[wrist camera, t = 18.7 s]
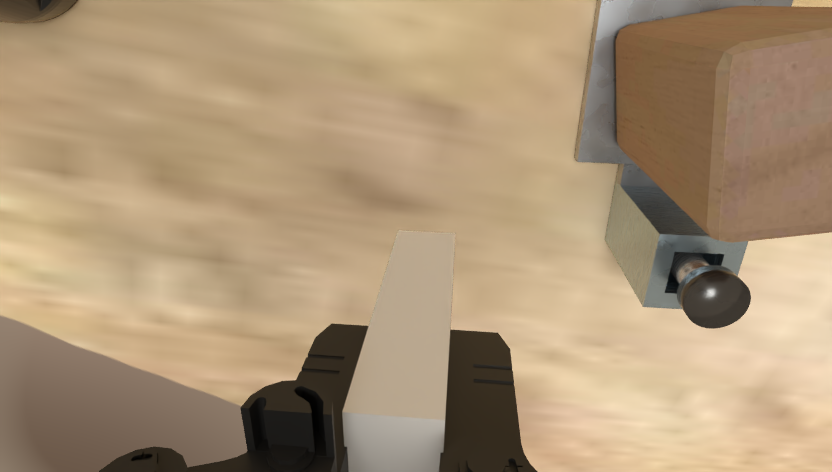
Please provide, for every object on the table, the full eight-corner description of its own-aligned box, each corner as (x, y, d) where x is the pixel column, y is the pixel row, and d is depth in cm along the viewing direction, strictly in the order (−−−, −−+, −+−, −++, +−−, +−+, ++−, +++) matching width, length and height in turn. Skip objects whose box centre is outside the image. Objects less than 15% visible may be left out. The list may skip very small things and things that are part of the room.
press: (562, 237, 50) (588, 303, 39) (599, -15, 41) (646, -21, 30) (712, 245, 49) (782, 315, 38) (785, -13, 40) (905, -18, 29)
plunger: (637, 261, 43) (678, 326, 35) (646, 217, 42) (693, 274, 33) (686, 264, 43) (740, 330, 34) (698, 220, 41) (758, 277, 33)
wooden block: (738, 132, 43) (935, 229, 25) (614, 149, 45) (713, 252, 26) (749, 2, 39) (992, 5, 21) (612, 26, 41) (727, 47, 22)
